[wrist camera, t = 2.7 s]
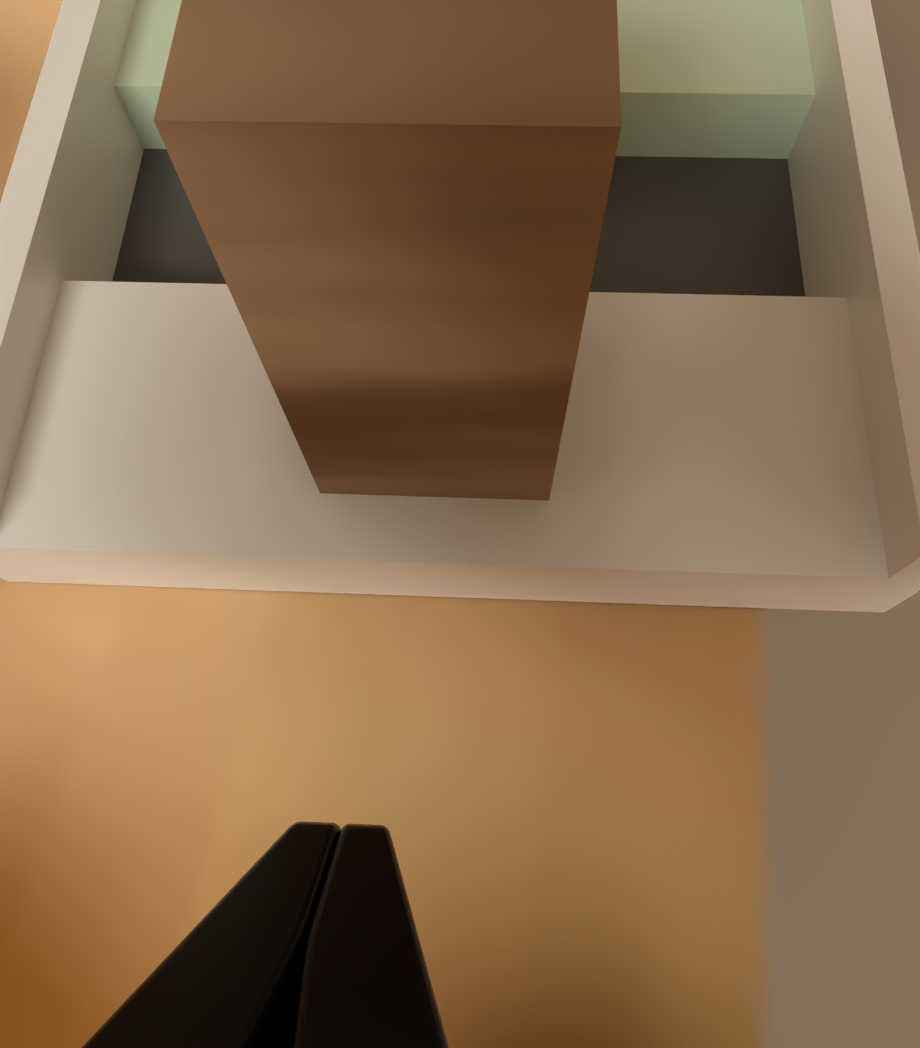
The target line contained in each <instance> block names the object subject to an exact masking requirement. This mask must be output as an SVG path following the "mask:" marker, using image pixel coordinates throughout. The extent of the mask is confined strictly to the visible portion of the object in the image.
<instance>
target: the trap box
mask: <svg viewBox="0 0 920 1048" xmlns="http://www.w3.org/2000/svg"><path fill="white" fill-rule="evenodd" d="M181 2H182V0H63V2H62V6H61V9H60V12H59V15H58V18H57V22H56V25H55V28H54V31H53V34H52V38H51V41H50V44H49V47H48V51H47V54H46V57H45V60H44V63H43V67H42V70H41V73H40V76H39V79H38V83H37V86H36V89H35V92H34V96H33V99H32V102H31V105H30V108H29V112H28V115H27V118H26V121H25V124H24V128H23V131H22V134H21V137H20V140H19V144H18V147H17V150H16V153H15V157H14V160H13V163H12V166H11V169H10V173H9V176H8V179H7V182H6V185H5V189H4V192H3V195H2V198H1V201H0V577H1V578H2V579H4V580H6V581H13V582H41V583H69V584H97V585H125V586H153V587H181V588H209V589H237V590H265V591H293V592H321V593H349V594H377V595H405V596H433V597H461V598H489V599H517V600H545V601H573V602H602V603H630V604H658V605H686V606H714V607H742V608H770V609H799V610H827V611H854V612H883V613H884V612H886V611H887V610H889V609H891V608H892V607H894V606H896V605H897V604H899V603H901V602H902V601H904V600H906V599H907V598H909V597H910V596H912V595H914V594H916V593H917V592H919V591H920V254H919V249H918V242H917V237H916V232H915V227H914V222H913V217H912V212H911V207H910V201H909V196H908V192H907V186H906V181H905V176H904V170H903V165H902V161H901V155H900V150H899V145H898V140H897V135H896V129H895V124H894V119H893V114H892V109H891V104H890V98H889V93H888V88H887V83H886V78H885V73H884V68H883V63H882V57H881V52H880V47H879V42H878V37H877V32H876V26H875V21H874V16H873V11H872V6H871V1H870V0H617V19H618V48H619V76H620V104H621V131H620V136H619V141H618V147H617V152H616V157H615V162H614V167H613V172H612V178H611V183H610V188H609V193H608V198H607V204H606V209H605V214H604V219H603V224H602V229H601V235H600V240H599V245H598V250H597V255H596V260H595V266H594V271H593V276H592V281H591V286H590V291H589V297H588V302H587V307H586V312H585V317H584V322H583V328H582V333H581V338H580V343H579V348H578V354H577V359H576V364H575V369H574V374H573V379H572V385H571V390H570V395H569V400H568V405H567V410H566V416H565V421H564V426H563V431H562V436H561V441H560V447H559V452H558V457H557V462H556V467H555V472H554V478H553V483H552V488H551V493H550V498H549V500H518V499H485V498H453V497H421V496H389V495H357V494H325V493H320V492H319V490H318V487H317V485H316V483H315V481H314V478H313V476H312V474H311V472H310V469H309V467H308V465H307V463H306V461H305V458H304V456H303V454H302V452H301V449H300V447H299V445H298V443H297V440H296V438H295V436H294V434H293V431H292V429H291V427H290V425H289V422H288V420H287V418H286V416H285V414H284V411H283V409H282V407H281V405H280V402H279V400H278V398H277V396H276V393H275V391H274V389H273V387H272V384H271V382H270V380H269V378H268V375H267V373H266V371H265V369H264V367H263V364H262V362H261V360H260V358H259V355H258V353H257V351H256V349H255V346H254V344H253V342H252V340H251V337H250V335H249V333H248V331H247V328H246V326H245V324H244V322H243V320H242V317H241V315H240V313H239V311H238V308H237V306H236V304H235V302H234V299H233V297H232V295H231V293H230V290H229V288H228V286H227V284H226V281H225V279H224V277H223V275H222V273H221V270H220V268H219V266H218V264H217V261H216V259H215V257H214V255H213V252H212V250H211V248H210V246H209V243H208V241H207V239H206V237H205V234H204V232H203V230H202V228H201V225H200V223H199V221H198V219H197V217H196V214H195V212H194V210H193V208H192V205H191V203H190V201H189V199H188V196H187V194H186V192H185V190H184V187H183V185H182V183H181V181H180V178H179V176H178V174H177V172H176V170H175V167H174V165H173V163H172V161H171V158H170V156H169V154H168V152H167V149H166V147H165V145H164V143H163V140H162V138H161V136H160V134H159V131H158V129H157V127H156V125H155V123H154V116H155V112H156V107H157V103H158V99H159V95H160V91H161V86H162V82H163V78H164V74H165V69H166V65H167V61H168V57H169V53H170V48H171V44H172V40H173V36H174V31H175V27H176V23H177V19H178V15H179V10H180V6H181Z"/></svg>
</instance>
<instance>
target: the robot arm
mask: <svg viewBox="0 0 920 1048" xmlns="http://www.w3.org/2000/svg"><path fill="white" fill-rule="evenodd" d="M82 1048H449V1047H448V1044H447V1040H446V1036H445V1033H444V1029H443V1025H442V1022H441V1018H440V1014H439V1011H438V1007H437V1003H436V1000H435V996H434V992H433V989H432V985H431V981H430V978H429V974H428V970H427V967H426V963H425V959H424V956H423V952H422V948H421V945H420V941H419V938H418V934H417V930H416V927H415V923H414V919H413V916H412V912H411V908H410V905H409V901H408V897H407V894H406V890H405V886H404V883H403V879H402V875H401V872H400V868H399V864H398V861H397V857H396V853H395V850H394V846H393V842H392V839H391V835H390V832H389V830H388V829H387V828H386V827H385V826H382V825H365V824H347V825H345V826H344V827H343V828H342V829H341V828H340V827H339V826H338V825H337V824H335V823H322V822H297V823H295V824H293V825H292V826H290V827H289V828H288V829H287V830H286V831H285V832H284V834H283V835H282V836H281V837H280V838H279V839H278V840H277V841H276V842H275V843H274V844H273V845H272V846H271V847H270V848H269V849H268V851H267V852H266V853H265V854H264V855H263V856H262V857H261V858H260V859H259V860H258V861H257V862H256V863H255V864H254V865H253V866H252V867H251V869H250V870H249V871H248V872H247V873H246V874H245V875H244V876H243V877H242V878H241V879H240V880H239V881H238V882H237V883H236V884H235V886H234V887H233V888H232V889H231V890H230V891H229V892H228V893H227V894H226V895H225V896H224V897H223V898H222V899H221V900H220V901H219V902H218V904H217V905H216V906H215V907H214V908H213V909H212V910H211V911H210V912H209V913H208V914H207V915H206V916H205V917H204V918H203V919H202V921H201V922H200V923H199V924H198V925H197V926H196V927H195V928H194V929H193V930H192V931H191V932H190V933H189V934H188V935H187V936H186V938H185V939H184V940H183V941H182V942H181V943H180V944H179V945H178V946H177V947H176V948H175V949H174V950H173V951H172V952H171V953H170V954H169V956H168V957H167V958H166V959H165V960H164V961H163V962H162V963H161V964H160V965H159V966H158V967H157V968H156V969H155V970H154V971H153V973H152V974H151V975H150V976H149V977H148V978H147V979H146V980H145V981H144V982H143V983H142V984H141V985H140V986H139V987H138V988H137V989H136V991H135V992H134V993H133V994H132V995H131V996H130V997H129V998H128V999H127V1000H126V1001H125V1002H124V1003H123V1004H122V1005H121V1006H120V1008H119V1009H118V1010H117V1011H116V1012H115V1013H114V1014H113V1015H112V1016H111V1017H110V1018H109V1019H108V1020H107V1021H106V1022H105V1023H104V1024H103V1026H102V1027H101V1028H100V1029H99V1030H98V1031H97V1032H96V1033H95V1034H94V1035H93V1036H92V1037H91V1038H90V1039H89V1040H88V1041H87V1043H86V1044H85V1045H84V1046H83V1047H82Z"/></svg>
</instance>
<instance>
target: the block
mask: <svg viewBox="0 0 920 1048" xmlns="http://www.w3.org/2000/svg"><path fill="white" fill-rule="evenodd" d="M154 123H155V125H156V127H157V129H158V131H159V134H160V136H161V138H162V140H163V143H164V145H165V147H166V149H167V152H168V154H169V156H170V158H171V161H172V163H173V165H174V167H175V170H176V172H177V174H178V176H179V178H180V181H181V183H182V185H183V187H184V190H185V192H186V194H187V196H188V199H189V201H190V203H191V205H192V208H193V210H194V212H195V214H196V217H197V219H198V221H199V223H200V225H201V228H202V230H203V232H204V234H205V237H206V239H207V241H208V243H209V246H210V248H211V250H212V252H213V255H214V257H215V259H216V261H217V264H218V266H219V268H220V270H221V273H222V275H223V277H224V279H225V281H226V284H227V286H228V288H229V290H230V293H231V295H232V297H233V299H234V302H235V304H236V306H237V308H238V311H239V313H240V315H241V317H242V320H243V322H244V324H245V326H246V328H247V331H248V333H249V335H250V337H251V340H252V342H253V344H254V346H255V349H256V351H257V353H258V355H259V358H260V360H261V362H262V364H263V367H264V369H265V371H266V373H267V375H268V378H269V380H270V382H271V384H272V387H273V389H274V391H275V393H276V396H277V398H278V400H279V402H280V405H281V407H282V409H283V411H284V414H285V416H286V418H287V420H288V422H289V425H290V427H291V429H292V431H293V434H294V436H295V438H296V440H297V443H298V445H299V447H300V449H301V452H302V454H303V456H304V458H305V461H306V463H307V465H308V467H309V469H310V472H311V474H312V476H313V478H314V481H315V483H316V485H317V487H318V490H319V492H320V493H325V494H357V495H389V496H421V497H453V498H485V499H518V500H549V498H550V493H551V488H552V483H553V478H554V472H555V467H556V462H557V457H558V452H559V447H560V441H561V436H562V431H563V426H564V421H565V416H566V410H567V405H568V400H569V395H570V390H571V385H572V379H573V374H574V369H575V364H576V359H577V354H578V348H579V343H580V338H581V333H582V328H583V322H584V317H585V312H586V307H587V302H588V297H589V291H590V286H591V281H592V276H593V271H594V266H595V260H596V255H597V250H598V245H599V240H600V235H601V229H602V224H603V219H604V214H605V209H606V204H607V198H608V193H609V188H610V183H611V178H612V172H613V167H614V162H615V157H616V152H617V147H618V141H619V136H620V131H621V104H620V76H619V48H618V19H617V0H182V2H181V6H180V10H179V15H178V19H177V23H176V27H175V31H174V36H173V40H172V44H171V48H170V53H169V57H168V61H167V65H166V69H165V74H164V78H163V82H162V86H161V91H160V95H159V99H158V103H157V107H156V112H155V116H154Z"/></svg>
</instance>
